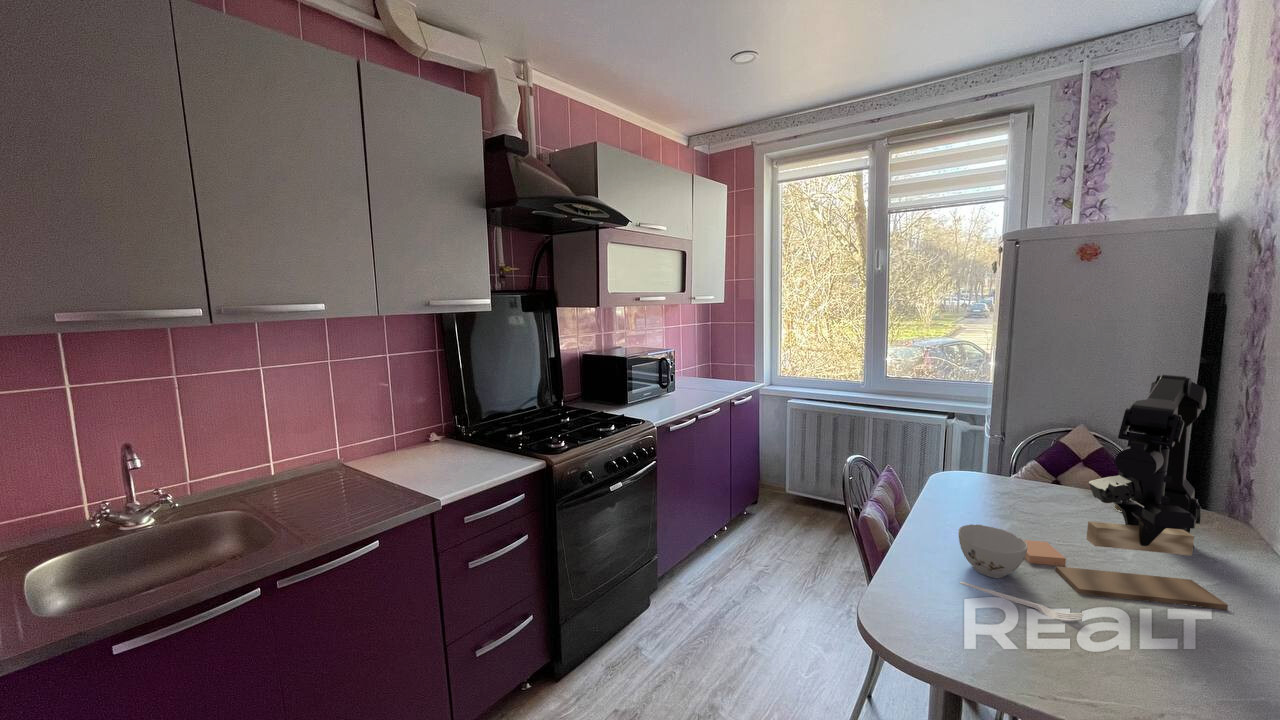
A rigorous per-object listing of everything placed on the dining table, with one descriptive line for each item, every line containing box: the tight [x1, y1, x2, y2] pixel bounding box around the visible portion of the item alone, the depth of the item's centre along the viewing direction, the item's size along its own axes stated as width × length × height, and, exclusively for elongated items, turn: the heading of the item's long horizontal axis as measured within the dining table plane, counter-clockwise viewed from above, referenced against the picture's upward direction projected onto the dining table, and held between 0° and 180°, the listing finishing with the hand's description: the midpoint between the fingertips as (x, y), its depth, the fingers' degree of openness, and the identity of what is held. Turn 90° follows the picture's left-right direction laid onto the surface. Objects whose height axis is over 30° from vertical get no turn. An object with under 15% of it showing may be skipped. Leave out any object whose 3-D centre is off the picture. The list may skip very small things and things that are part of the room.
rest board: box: [1054, 565, 1229, 611], centre depth 105 cm, size 24×9×1 cm, turn 75°
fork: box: [959, 581, 1085, 622], centre depth 102 cm, size 3×20×2 cm, turn 44°
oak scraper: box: [1086, 521, 1195, 556], centre depth 104 cm, size 16×3×4 cm, turn 75°
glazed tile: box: [1023, 539, 1067, 567], centre depth 119 cm, size 2×8×7 cm
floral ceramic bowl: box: [958, 524, 1028, 579], centre depth 113 cm, size 15×12×8 cm
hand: (1138, 541), depth 104 cm, fingers closed on oak scraper, 3 cm apart
